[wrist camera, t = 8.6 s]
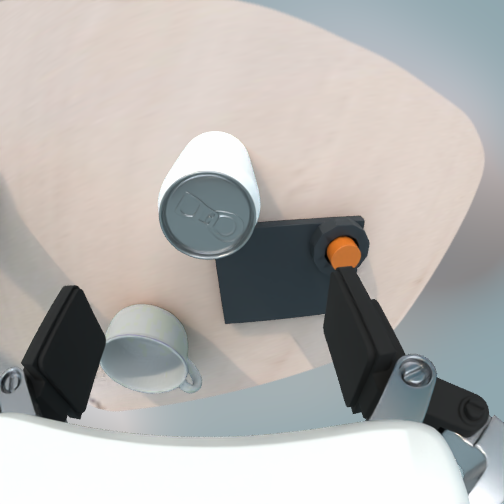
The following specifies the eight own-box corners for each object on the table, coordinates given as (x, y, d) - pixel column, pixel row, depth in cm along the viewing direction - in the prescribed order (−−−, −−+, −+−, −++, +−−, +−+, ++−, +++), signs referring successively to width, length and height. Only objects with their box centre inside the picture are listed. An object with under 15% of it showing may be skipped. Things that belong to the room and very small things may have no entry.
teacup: (99, 313, 36) (81, 358, 29) (151, 276, 33) (136, 326, 26) (167, 367, 42) (162, 410, 36) (223, 342, 40) (223, 390, 33)
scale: (225, 317, 37) (225, 334, 35) (211, 221, 30) (209, 235, 27) (346, 304, 38) (353, 320, 35) (361, 210, 31) (372, 223, 28)
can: (225, 207, 29) (225, 281, 19) (168, 174, 27) (134, 234, 17) (263, 153, 27) (286, 202, 17) (204, 117, 24) (186, 141, 14)
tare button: (325, 263, 31) (329, 273, 29) (327, 237, 29) (332, 246, 27) (353, 261, 31) (358, 270, 29) (356, 235, 29) (363, 243, 28)
